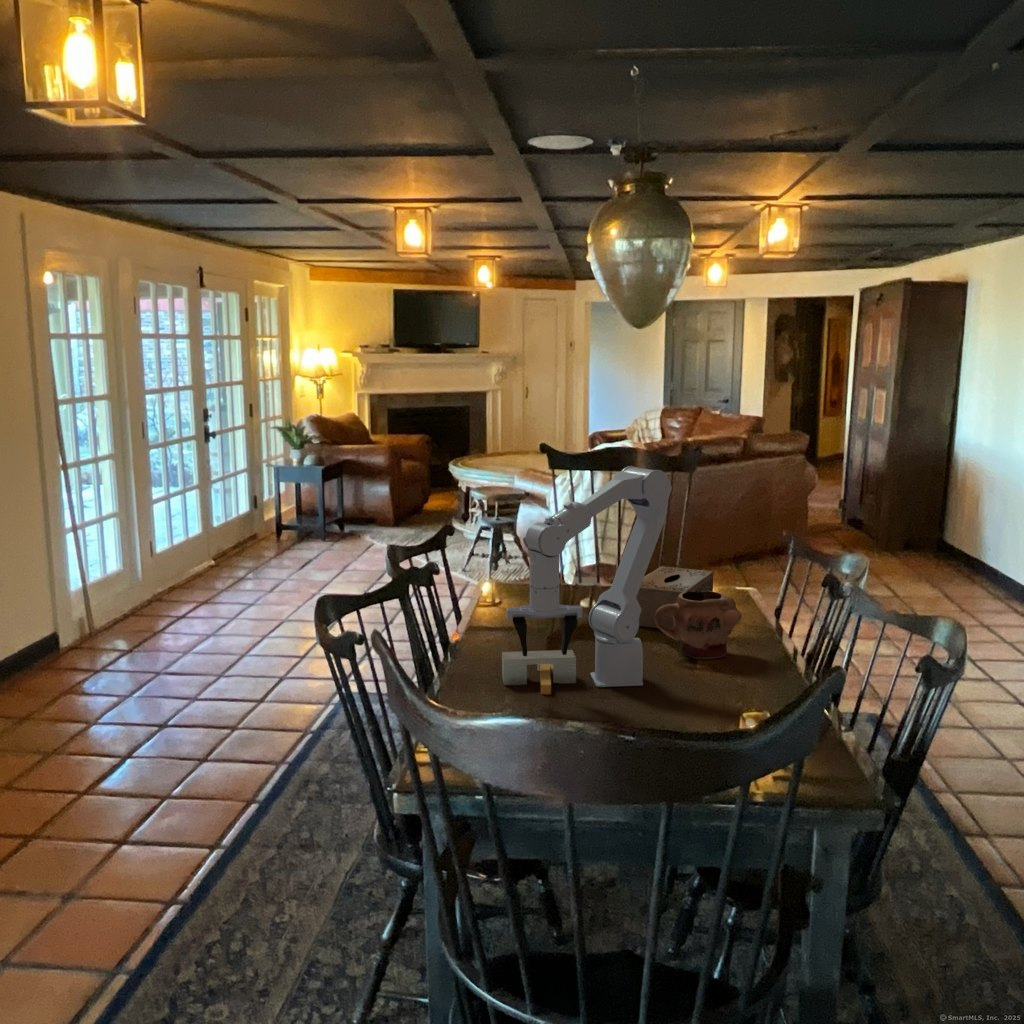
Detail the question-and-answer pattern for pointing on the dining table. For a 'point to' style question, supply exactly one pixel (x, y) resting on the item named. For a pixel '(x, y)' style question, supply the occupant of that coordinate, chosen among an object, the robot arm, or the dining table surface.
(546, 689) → the wooden stick
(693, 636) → the ceramic mug
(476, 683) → the dining table surface
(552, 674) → the block
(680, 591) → the tissue box cover
